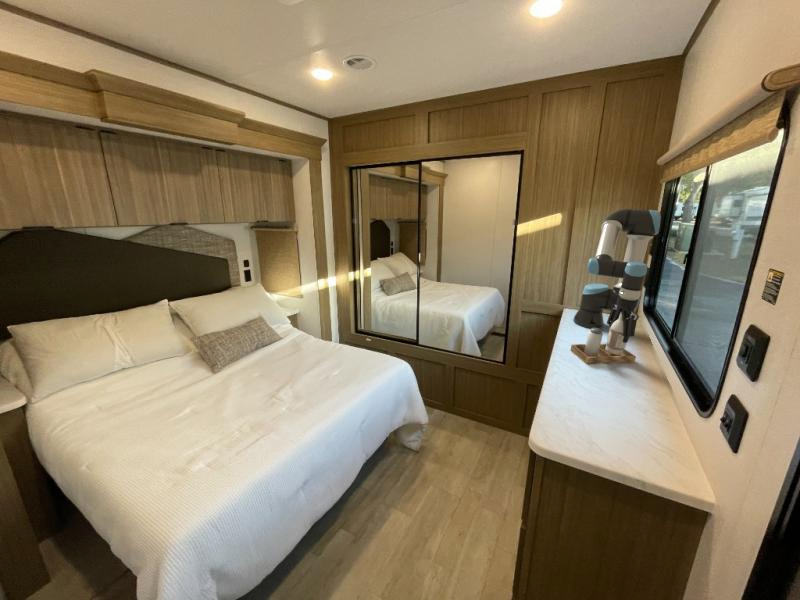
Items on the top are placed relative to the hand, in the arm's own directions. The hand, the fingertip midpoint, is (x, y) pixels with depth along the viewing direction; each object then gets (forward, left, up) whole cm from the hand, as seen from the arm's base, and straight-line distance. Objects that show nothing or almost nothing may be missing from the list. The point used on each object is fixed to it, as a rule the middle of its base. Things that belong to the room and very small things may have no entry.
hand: (615, 343), depth 151 cm
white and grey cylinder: (+10, -5, -6) cm, 12 cm away
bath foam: (0, 0, -4) cm, 4 cm away
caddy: (+5, -3, -6) cm, 9 cm away
